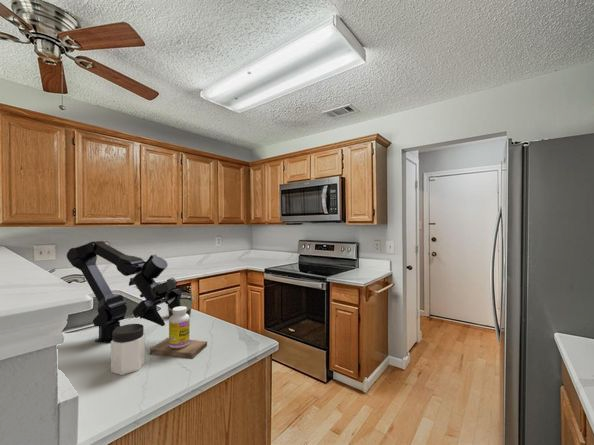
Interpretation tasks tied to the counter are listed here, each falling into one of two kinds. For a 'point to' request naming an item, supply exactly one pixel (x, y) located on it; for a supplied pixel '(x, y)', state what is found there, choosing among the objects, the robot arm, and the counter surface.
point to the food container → (184, 303)
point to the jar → (127, 349)
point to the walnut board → (179, 349)
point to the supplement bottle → (179, 328)
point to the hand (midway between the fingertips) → (173, 320)
